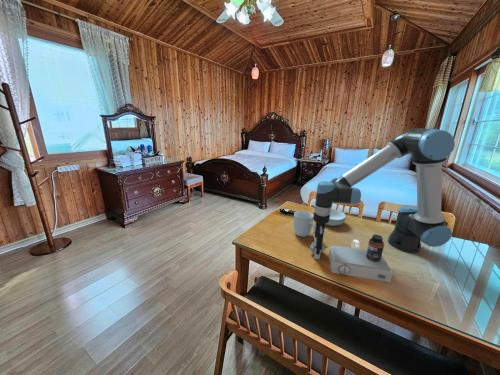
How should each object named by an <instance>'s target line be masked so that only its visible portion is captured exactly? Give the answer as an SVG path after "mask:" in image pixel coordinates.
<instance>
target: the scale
mask: <svg viewBox="0 0 500 375" xmlns="http://www.w3.org/2000/svg"><path fill="white" fill-rule="evenodd" d="M366 254H367V250H366V249H359V248H355V247H354V248H353V247H348V246H347V247H346V246H340V245H333V244H332V245H331V246H329V249H328V259H329V264H330V271H331V273H333V274H338V275H344V276H350V277H355V278H362V279H368V280H373V281H380V282H387V283H391V282H392V278H393V275H394V272H393V271H392V268H391V267H390V265H389V263H388V261H387V260H386V257H385V256H384V255H383V253H382V256H381V260H380V261H378V262H375V261H371V260H369V259H368V258H367V257H366Z"/></svg>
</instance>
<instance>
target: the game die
mask: <svg viewBox="0 0 500 375" xmlns="http://www.w3.org/2000/svg"><path fill="white" fill-rule="evenodd" d="M314 246H315V247H316V241H314V239H312V240H311V243H310V246H308V247H307V249H309V250H310V251H311V252H312V253H313V255H314V253H315V248H314ZM327 248H328V246H326V245H325V244H324V242H323V243H322V250H321V253H320V255H324V251H325V250H326V249H327Z"/></svg>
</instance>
